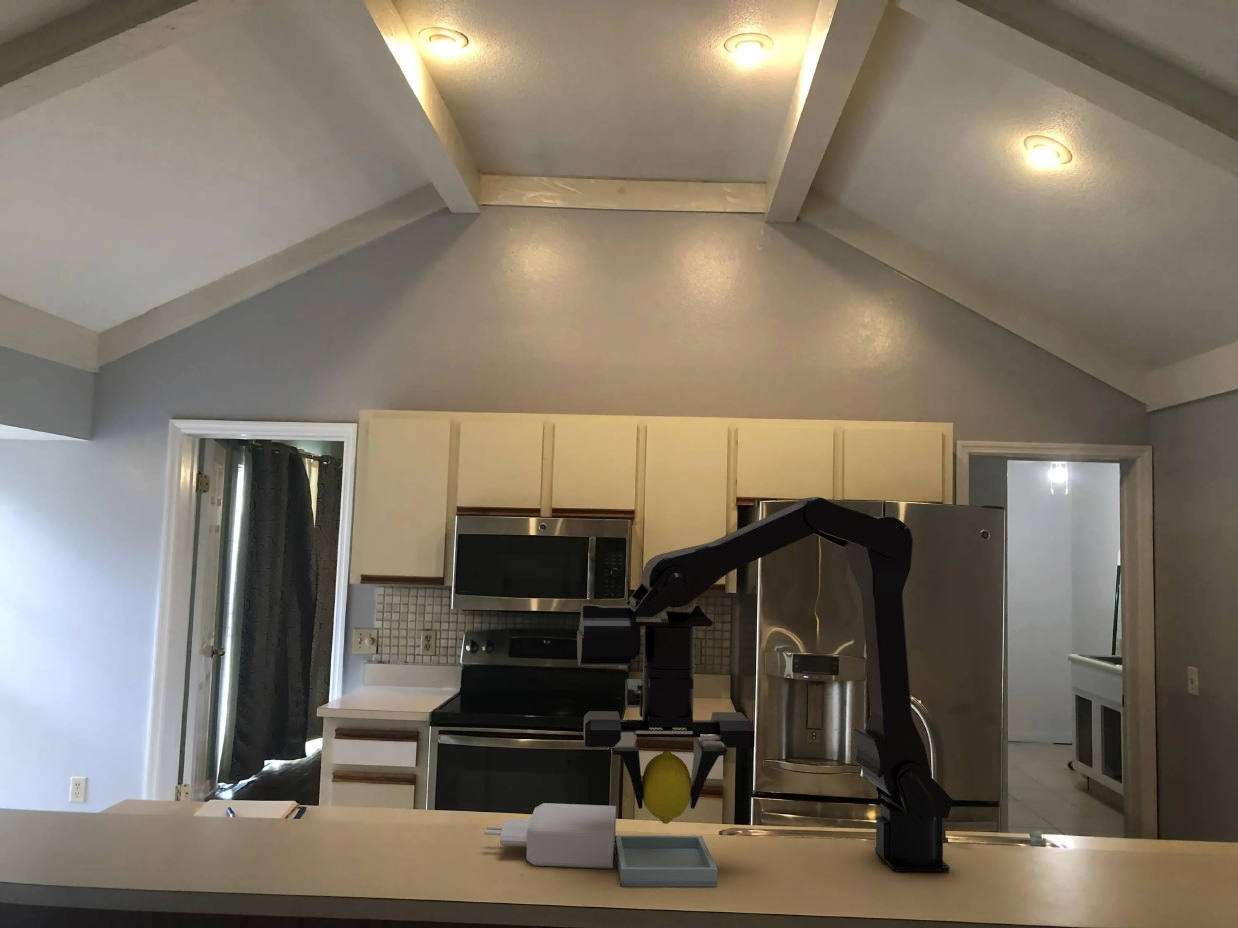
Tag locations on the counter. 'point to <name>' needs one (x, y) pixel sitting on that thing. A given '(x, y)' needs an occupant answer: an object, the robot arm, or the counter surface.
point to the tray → (664, 861)
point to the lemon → (666, 786)
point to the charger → (564, 835)
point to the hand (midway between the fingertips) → (666, 807)
